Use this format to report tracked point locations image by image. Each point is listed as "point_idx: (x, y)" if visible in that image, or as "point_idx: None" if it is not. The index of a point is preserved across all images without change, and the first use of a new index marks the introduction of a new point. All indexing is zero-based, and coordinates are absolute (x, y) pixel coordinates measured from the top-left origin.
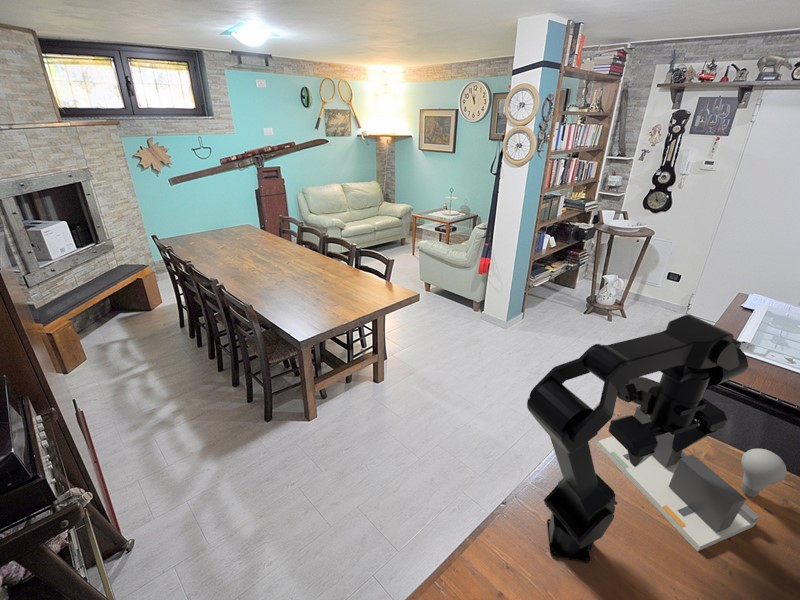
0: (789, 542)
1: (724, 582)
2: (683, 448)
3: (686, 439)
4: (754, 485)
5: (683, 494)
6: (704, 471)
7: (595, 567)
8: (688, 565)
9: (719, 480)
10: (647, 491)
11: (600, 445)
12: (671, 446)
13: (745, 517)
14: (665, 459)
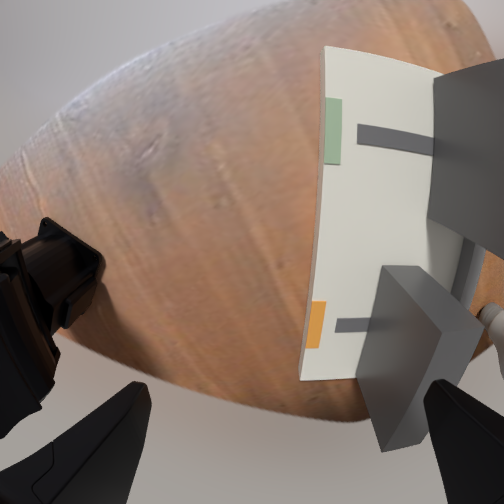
0: None
1: (289, 404)
2: (434, 449)
3: (461, 488)
4: (494, 342)
5: (380, 311)
6: None
7: (92, 320)
8: (258, 377)
9: None
10: (318, 253)
11: (322, 59)
12: (481, 237)
13: None
14: (442, 215)
